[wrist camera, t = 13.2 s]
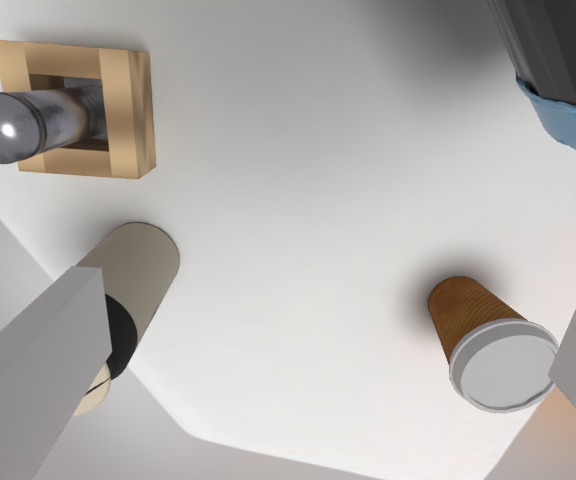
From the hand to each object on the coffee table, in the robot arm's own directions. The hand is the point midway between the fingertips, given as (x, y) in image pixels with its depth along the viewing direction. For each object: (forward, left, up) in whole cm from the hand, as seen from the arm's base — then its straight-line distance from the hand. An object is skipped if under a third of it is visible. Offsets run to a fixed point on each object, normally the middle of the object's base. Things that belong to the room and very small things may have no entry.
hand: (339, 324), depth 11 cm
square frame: (-2, -19, -29) cm, 34 cm away
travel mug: (+13, -16, -29) cm, 35 cm away
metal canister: (-2, -19, -29) cm, 34 cm away
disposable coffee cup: (+16, +19, -29) cm, 38 cm away
